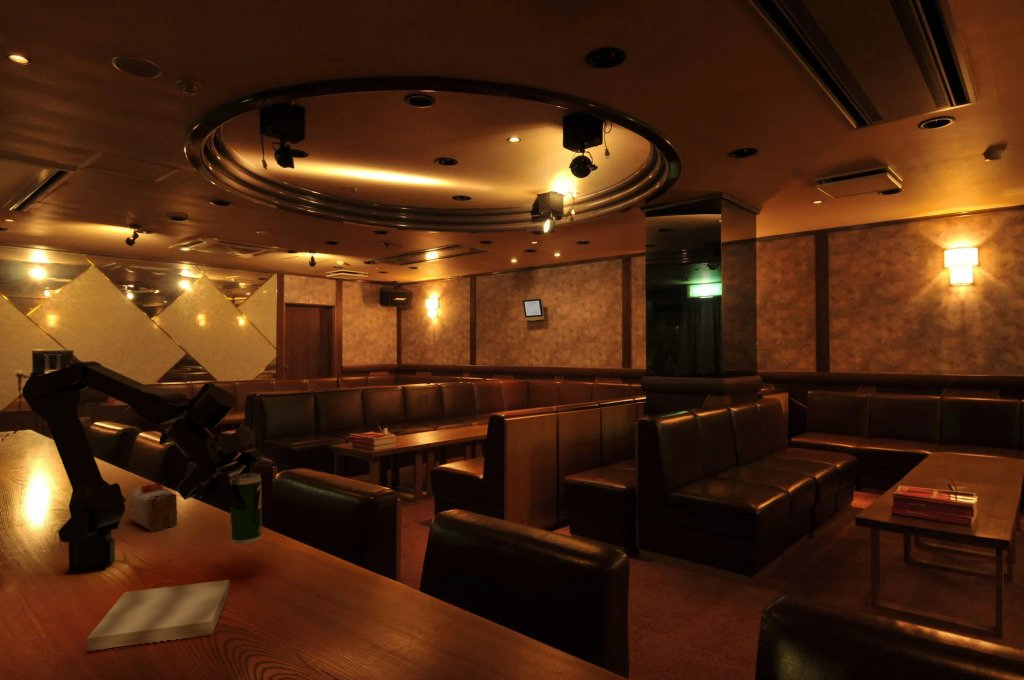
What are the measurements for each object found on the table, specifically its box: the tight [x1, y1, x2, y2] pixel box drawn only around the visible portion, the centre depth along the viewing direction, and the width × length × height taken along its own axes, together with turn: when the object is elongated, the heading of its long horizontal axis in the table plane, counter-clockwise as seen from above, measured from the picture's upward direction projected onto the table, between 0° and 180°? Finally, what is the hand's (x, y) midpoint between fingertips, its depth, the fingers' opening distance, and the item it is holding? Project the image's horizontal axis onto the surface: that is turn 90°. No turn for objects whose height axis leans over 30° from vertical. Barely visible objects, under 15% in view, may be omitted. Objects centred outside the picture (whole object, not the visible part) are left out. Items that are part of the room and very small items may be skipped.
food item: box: [129, 482, 178, 532], centre depth 143 cm, size 14×8×10 cm, turn 50°
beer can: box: [229, 472, 263, 545], centre depth 111 cm, size 5×5×12 cm
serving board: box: [86, 579, 231, 652], centre depth 94 cm, size 16×16×2 cm
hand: (252, 504), depth 111 cm, fingers closed on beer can, 5 cm apart
